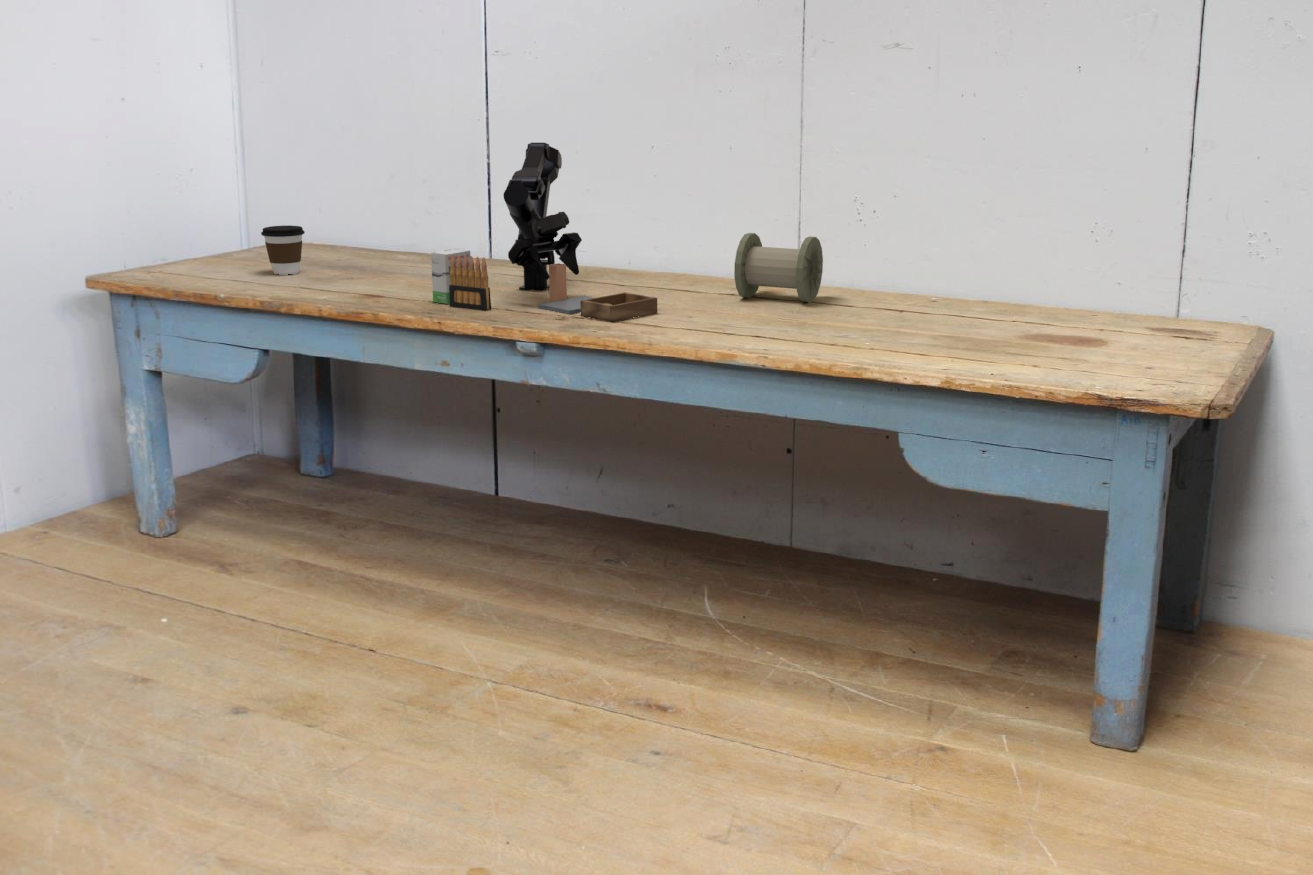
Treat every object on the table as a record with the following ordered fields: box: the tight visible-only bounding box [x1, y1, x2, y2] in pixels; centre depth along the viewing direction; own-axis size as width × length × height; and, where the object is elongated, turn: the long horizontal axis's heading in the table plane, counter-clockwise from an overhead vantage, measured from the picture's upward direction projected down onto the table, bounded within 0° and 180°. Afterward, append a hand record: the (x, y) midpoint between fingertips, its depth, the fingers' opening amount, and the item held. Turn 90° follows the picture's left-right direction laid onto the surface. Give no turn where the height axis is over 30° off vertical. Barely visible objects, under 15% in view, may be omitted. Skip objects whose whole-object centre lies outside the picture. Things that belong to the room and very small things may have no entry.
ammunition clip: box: [448, 254, 492, 312], centre depth 293 cm, size 11×2×12 cm, turn 60°
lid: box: [537, 263, 595, 316], centre depth 295 cm, size 13×15×9 cm
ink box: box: [430, 248, 471, 305], centre depth 302 cm, size 9×5×12 cm, turn 144°
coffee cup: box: [261, 225, 306, 276], centre depth 340 cm, size 11×11×12 cm
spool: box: [733, 232, 824, 304], centre depth 303 cm, size 16×15×15 cm
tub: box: [580, 292, 658, 323], centre depth 286 cm, size 10×14×4 cm
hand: (563, 276), depth 297 cm, fingers open, 9 cm apart
